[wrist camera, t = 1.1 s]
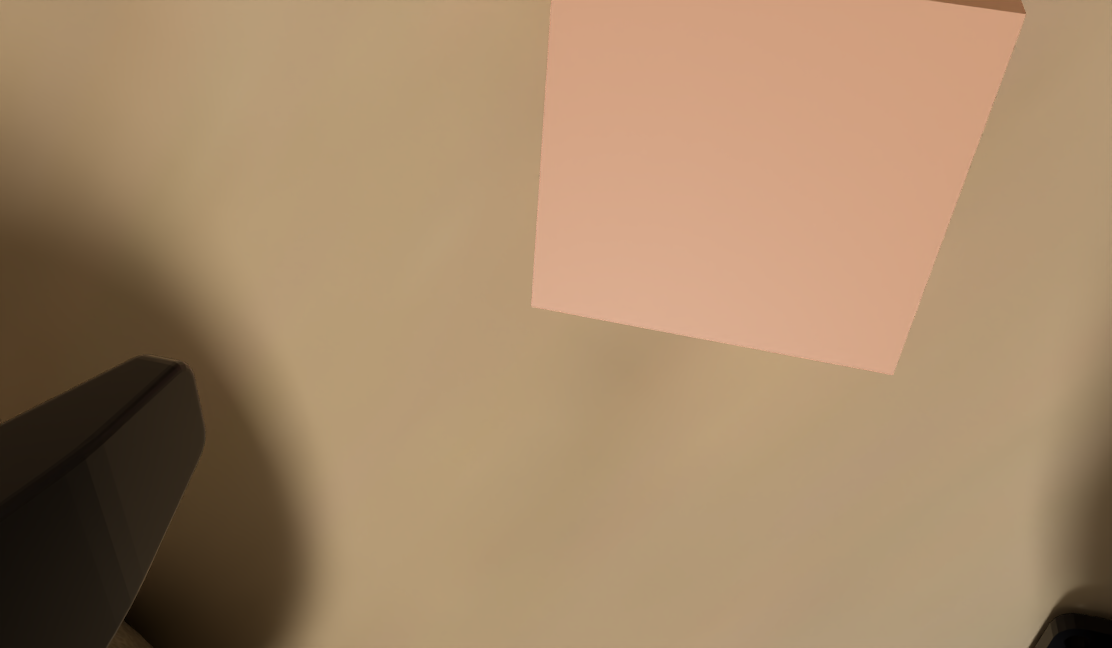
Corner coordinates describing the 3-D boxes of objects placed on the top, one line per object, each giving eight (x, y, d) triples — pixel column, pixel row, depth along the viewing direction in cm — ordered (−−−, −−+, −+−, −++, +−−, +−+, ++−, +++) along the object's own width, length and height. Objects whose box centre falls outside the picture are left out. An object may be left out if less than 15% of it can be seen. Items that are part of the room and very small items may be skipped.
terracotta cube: (881, 189, 17) (892, 375, 14) (596, 141, 18) (531, 306, 14) (975, -116, 14) (1026, 14, 10) (627, -160, 15) (555, -54, 11)
